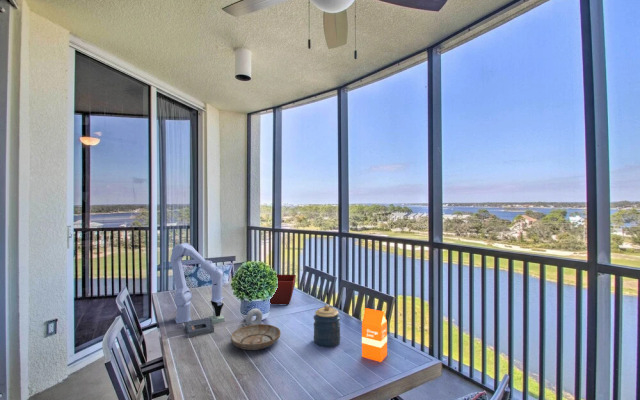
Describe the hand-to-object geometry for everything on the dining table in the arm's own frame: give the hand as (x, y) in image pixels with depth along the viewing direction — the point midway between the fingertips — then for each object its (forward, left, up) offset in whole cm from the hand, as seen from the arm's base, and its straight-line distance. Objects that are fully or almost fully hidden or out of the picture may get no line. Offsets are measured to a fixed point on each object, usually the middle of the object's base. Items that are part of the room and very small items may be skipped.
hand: (216, 314), depth 171 cm
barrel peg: (0, 0, -1) cm, 1 cm away
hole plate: (+8, -10, -3) cm, 14 cm away
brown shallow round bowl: (+39, +10, -4) cm, 41 cm away
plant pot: (-12, +44, -4) cm, 46 cm away
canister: (+55, +40, -4) cm, 68 cm away
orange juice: (+77, +52, -4) cm, 93 cm away
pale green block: (0, 0, -3) cm, 3 cm away
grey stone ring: (+20, +16, -4) cm, 26 cm away
